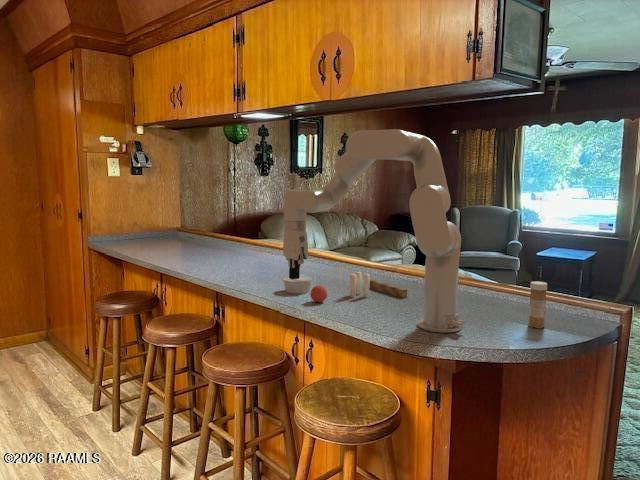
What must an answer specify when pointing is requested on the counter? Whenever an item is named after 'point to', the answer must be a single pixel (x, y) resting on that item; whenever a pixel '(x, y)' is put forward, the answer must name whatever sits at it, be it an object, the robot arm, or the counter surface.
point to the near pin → (366, 285)
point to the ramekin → (297, 285)
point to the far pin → (358, 283)
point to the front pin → (352, 285)
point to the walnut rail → (388, 288)
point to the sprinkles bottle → (537, 304)
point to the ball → (318, 293)
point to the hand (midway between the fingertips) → (294, 278)
